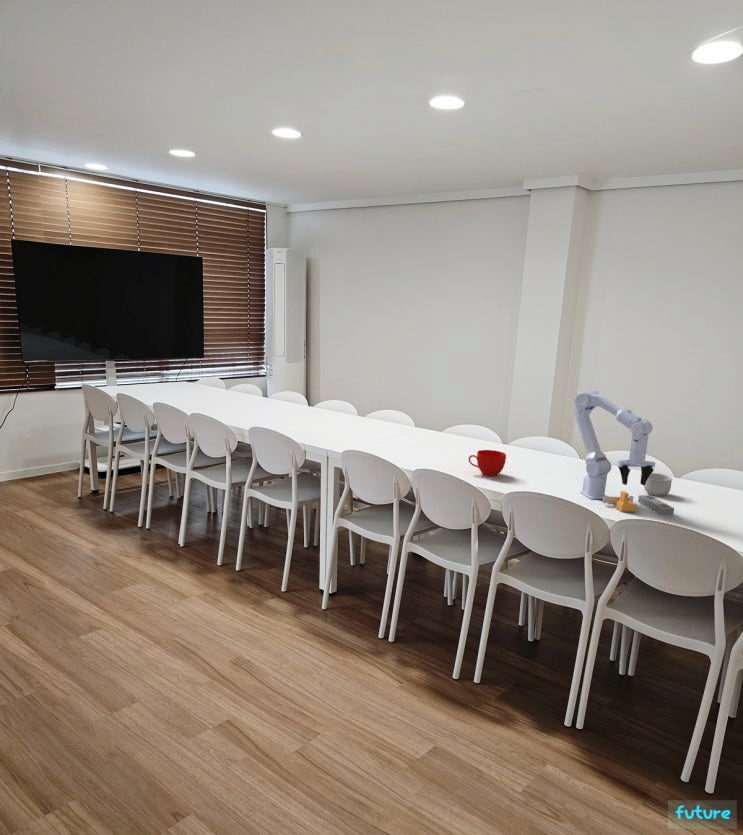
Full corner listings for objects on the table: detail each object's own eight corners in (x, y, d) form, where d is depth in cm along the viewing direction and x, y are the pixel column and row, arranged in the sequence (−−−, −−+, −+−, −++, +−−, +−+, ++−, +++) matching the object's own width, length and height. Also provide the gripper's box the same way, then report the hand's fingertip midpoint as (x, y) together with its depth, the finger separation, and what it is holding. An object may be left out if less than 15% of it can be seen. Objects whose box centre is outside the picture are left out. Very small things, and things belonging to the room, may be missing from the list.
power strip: (637, 502, 251) (638, 494, 250) (649, 502, 251) (650, 494, 251) (661, 515, 235) (662, 507, 235) (673, 515, 236) (674, 507, 235)
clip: (631, 505, 245) (632, 495, 244) (632, 506, 244) (634, 497, 243) (601, 504, 245) (603, 494, 244) (603, 505, 243) (604, 495, 242)
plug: (616, 508, 241) (618, 490, 240) (629, 508, 242) (632, 491, 240) (621, 511, 237) (623, 494, 236) (635, 511, 238) (637, 494, 236)
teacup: (675, 497, 260) (678, 479, 259) (652, 498, 258) (655, 479, 256) (653, 488, 273) (656, 470, 272) (632, 488, 271) (634, 470, 270)
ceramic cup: (463, 470, 286) (465, 449, 284) (499, 471, 287) (501, 450, 286) (471, 478, 273) (472, 456, 271) (508, 478, 275) (510, 457, 273)
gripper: (625, 452, 235) (621, 487, 237) (661, 453, 236) (656, 487, 239) (616, 448, 241) (612, 481, 244) (651, 449, 243) (646, 482, 246)
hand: (633, 484), depth 242 cm, fingers open, 7 cm apart
